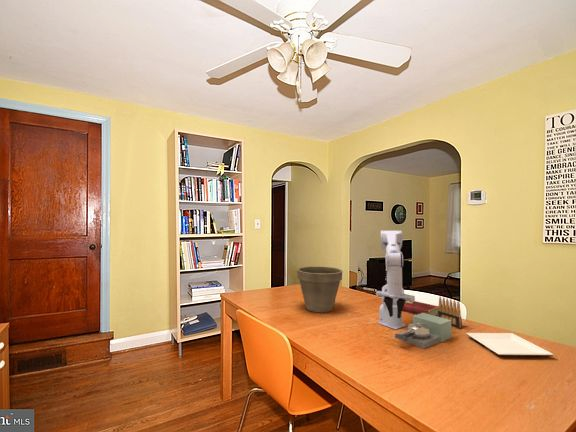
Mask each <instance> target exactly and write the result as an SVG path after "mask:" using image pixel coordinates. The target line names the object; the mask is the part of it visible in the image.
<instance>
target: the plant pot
mask: <svg viewBox="0 0 576 432" xmlns="http://www.w3.org/2000/svg"><path fill="white" fill-rule="evenodd" d="M296 271H297V279H298V280H299V285H300V289H301V293H302V298H303V301H304V302H303V303H304V305H305V308H306V309H307V310H308V311H309V312H314V313H328V312H331V311H333V308H334V306H335V305H334V304H335V302H336V298H337V294H338V291H339V287H340V283H341V281H342V280H343V269H340V268H338V267H330V266H316V265H315V266H314V265H313V266H303V267H298V268H297V270H296Z"/></svg>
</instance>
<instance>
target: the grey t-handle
mask: <svg viewBox="0 0 576 432" xmlns="http://www.w3.org/2000/svg"><path fill="white" fill-rule="evenodd" d="M407 331H408V332H407V333H404V334H402V335H400V334H399V333H395V334H394V338H395V339H398V340H400V339H401V340H400V341H403V342H405V341H407V338H408V337H410V336H412V337H415V338H421V339H425V338H429V337H430V328H429V327H428V326H426V325H423V324H421V323H419V322H416V323H413V322H412V323H408V324H407Z"/></svg>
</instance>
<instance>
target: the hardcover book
mask: <svg viewBox="0 0 576 432" xmlns="http://www.w3.org/2000/svg"><path fill="white" fill-rule="evenodd" d="M438 311H439V307H438V305H434V304H429V303H425V302H420V301H416V300H415V301H414V302H411V301H407V300H406V302H405V305H404V306H403V309H402V312H404V313H408V314H411V313H412V314H413V315H415V314H416V315H417V314H421V313H426V314H430V315H434V316H438Z"/></svg>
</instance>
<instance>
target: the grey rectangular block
mask: <svg viewBox="0 0 576 432" xmlns="http://www.w3.org/2000/svg"><path fill="white" fill-rule="evenodd" d="M416 322H419V323H421V324H423V325H426V326H428V327H429V328H430V337H429V338H425V339H421V338H415V337H412V336H410V337H408V338H407V341H404V342H405V343H408V344H411V345H414V346H416V347H418V348H420V349H421V348H422V349H424V350H425V349H427V348H430V347H432V346H434V345H436V344H439V343H443V342H445V341H447V340H449V339H452V337H453V336H452V334H453V333H452V326H451V320H448V319H445V318H441V317H438V315H430V314H426V313H421V314H417V315H415V314H413V316H412V323H416ZM407 332H408V330H405V331H402V332H400V333H398V334H400V335H402V334H404V333H407ZM399 340H400V341H402V340H401V339H399Z"/></svg>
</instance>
